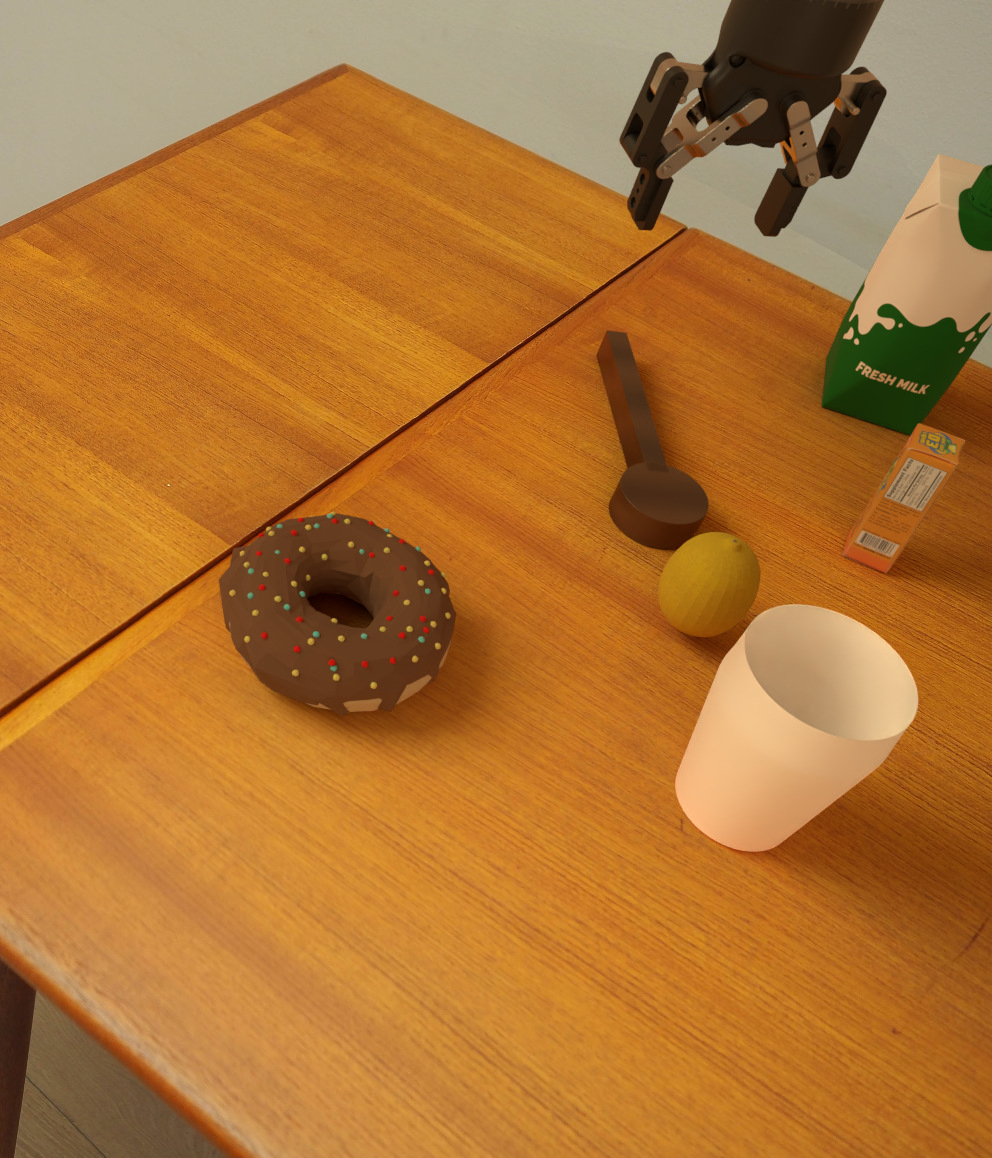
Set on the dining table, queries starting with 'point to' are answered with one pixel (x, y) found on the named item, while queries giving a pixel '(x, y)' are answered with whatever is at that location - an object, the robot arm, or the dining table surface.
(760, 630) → the cup
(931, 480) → the supplement box
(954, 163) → the milk carton
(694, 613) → the lemon
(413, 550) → the donut
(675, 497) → the wooden spoon
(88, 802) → the dining table surface
